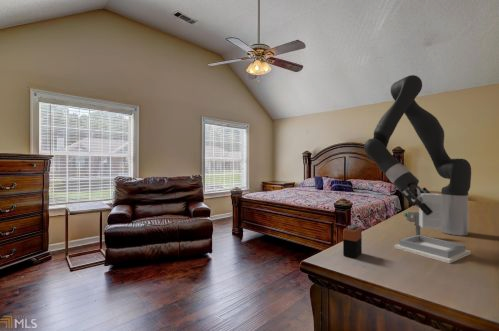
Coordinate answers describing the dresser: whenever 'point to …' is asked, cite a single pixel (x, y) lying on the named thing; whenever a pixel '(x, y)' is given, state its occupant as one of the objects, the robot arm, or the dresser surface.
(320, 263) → the dresser surface
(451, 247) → the grey rimmed tray
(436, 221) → the skincare box
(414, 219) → the mechanical component
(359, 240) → the battery
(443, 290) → the dresser surface
